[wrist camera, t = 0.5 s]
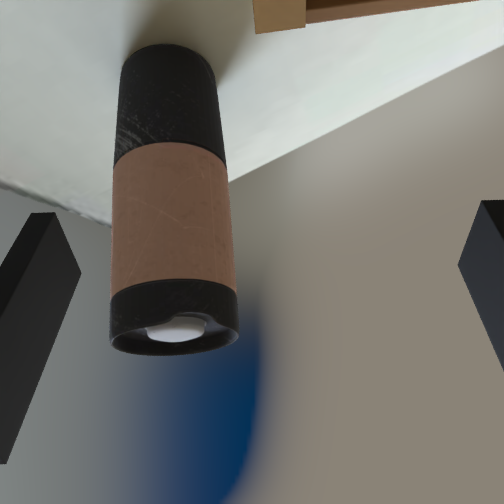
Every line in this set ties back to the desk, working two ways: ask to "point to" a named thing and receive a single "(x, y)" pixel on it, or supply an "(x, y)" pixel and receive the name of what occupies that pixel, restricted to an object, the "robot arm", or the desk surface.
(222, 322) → the travel mug
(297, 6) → the wooden box
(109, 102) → the desk surface
